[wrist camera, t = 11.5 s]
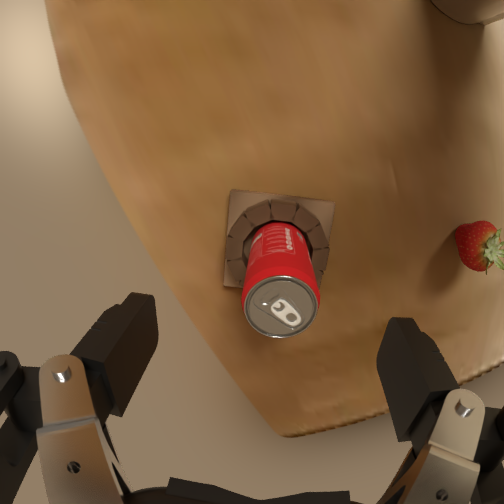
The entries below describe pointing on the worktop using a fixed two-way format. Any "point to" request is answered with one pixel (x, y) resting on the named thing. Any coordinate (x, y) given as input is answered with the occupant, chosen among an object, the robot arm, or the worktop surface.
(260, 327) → the beverage can
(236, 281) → the holder
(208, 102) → the worktop surface
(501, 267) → the fruit
